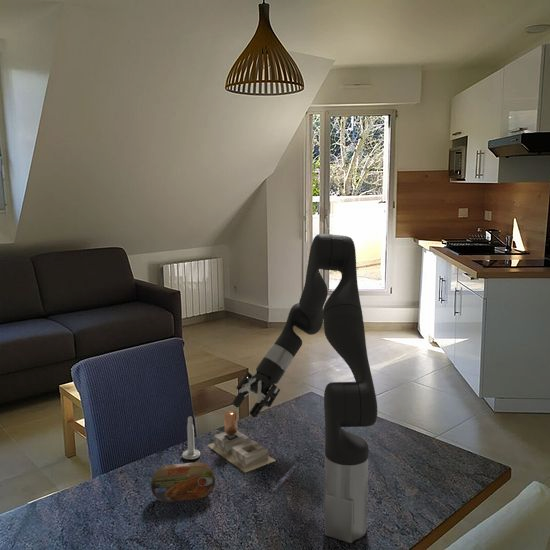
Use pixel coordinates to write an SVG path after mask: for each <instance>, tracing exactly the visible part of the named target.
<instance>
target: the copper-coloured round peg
mask: <svg viewBox="0 0 550 550" xmlns="http://www.w3.org/2000/svg"><path fill="white" fill-rule="evenodd" d="M223 414H224V416H223V419H224V420H223V421H224V425H223V426H224V432H225V433H226V434H228V440H232V439H235V433H237V432H238V431H239V430H238V411H236V410H227V411H224V412H223Z"/></svg>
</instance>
